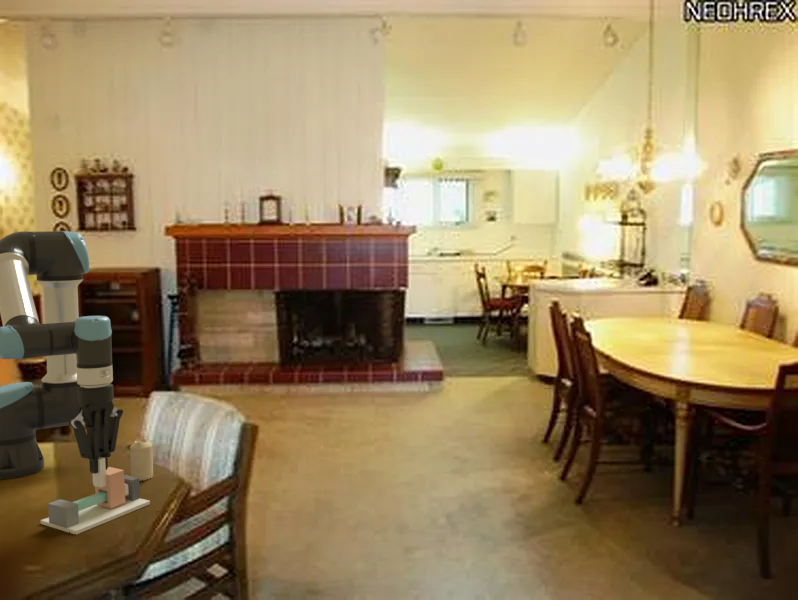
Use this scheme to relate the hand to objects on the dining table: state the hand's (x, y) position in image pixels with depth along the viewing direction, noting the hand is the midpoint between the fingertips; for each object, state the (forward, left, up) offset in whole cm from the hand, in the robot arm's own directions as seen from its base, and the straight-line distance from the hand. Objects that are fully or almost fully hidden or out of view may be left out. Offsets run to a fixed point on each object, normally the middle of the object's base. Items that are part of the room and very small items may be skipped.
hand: (99, 485), depth 166 cm
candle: (-11, +21, -7) cm, 25 cm away
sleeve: (0, +3, -5) cm, 6 cm away
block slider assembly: (0, -1, -6) cm, 6 cm away
